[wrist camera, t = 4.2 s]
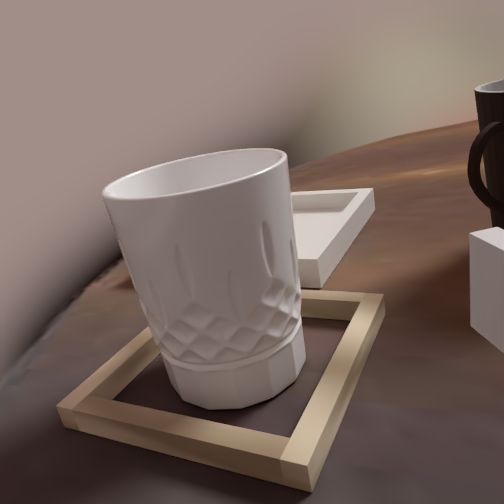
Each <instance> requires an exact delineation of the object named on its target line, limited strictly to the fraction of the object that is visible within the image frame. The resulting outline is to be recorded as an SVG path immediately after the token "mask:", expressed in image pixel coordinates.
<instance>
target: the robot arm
mask: <svg viewBox="0 0 504 504" xmlns="http://www.w3.org/2000/svg"><path fill="white" fill-rule="evenodd" d="M469 246H470V326H471V327H472V328H474V329H475V330H476V331H477V332H478V333H480V334H481V335H482V336H483V337H485V338H486V339H487V340H488V341H489V342H491V343H492V344H493V345H494V346H495V347H497V348H498V349H499V350H500V351H502V352H503V353H504V230H503V229H501V228H499V227H494V228H490V229H485V230H481V231H476V232H472V233H469Z"/></svg>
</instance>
